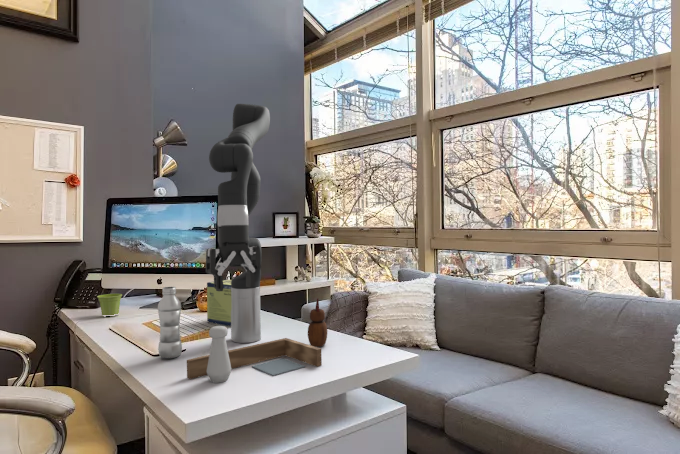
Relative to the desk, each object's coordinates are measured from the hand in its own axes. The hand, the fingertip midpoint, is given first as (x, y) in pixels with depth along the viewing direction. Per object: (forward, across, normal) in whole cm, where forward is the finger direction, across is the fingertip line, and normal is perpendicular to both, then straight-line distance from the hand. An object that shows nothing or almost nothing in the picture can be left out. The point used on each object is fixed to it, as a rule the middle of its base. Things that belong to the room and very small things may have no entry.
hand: (234, 289), depth 114 cm
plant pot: (+19, -4, -105) cm, 107 cm away
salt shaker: (+22, +4, -1) cm, 22 cm away
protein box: (+20, -32, -57) cm, 69 cm away
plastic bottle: (+21, +4, -28) cm, 36 cm away
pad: (+22, -12, +1) cm, 25 cm away
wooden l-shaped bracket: (+22, -6, 0) cm, 22 cm away
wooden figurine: (+22, -33, -7) cm, 40 cm away
